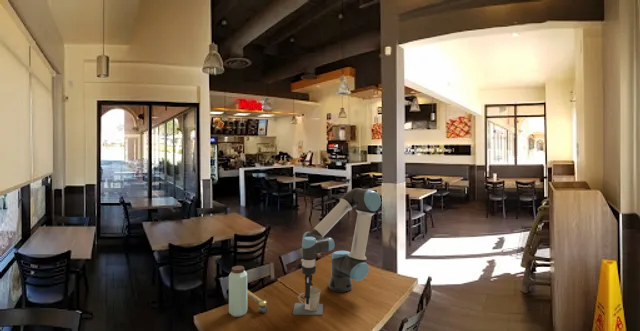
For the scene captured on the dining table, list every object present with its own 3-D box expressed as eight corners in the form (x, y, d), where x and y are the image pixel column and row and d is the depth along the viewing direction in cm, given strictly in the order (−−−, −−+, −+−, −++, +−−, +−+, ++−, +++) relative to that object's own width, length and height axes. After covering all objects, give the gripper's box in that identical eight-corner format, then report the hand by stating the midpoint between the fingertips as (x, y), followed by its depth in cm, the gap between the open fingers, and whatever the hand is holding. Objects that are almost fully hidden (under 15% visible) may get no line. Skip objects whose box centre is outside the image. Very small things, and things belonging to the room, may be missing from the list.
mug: (318, 313, 188) (318, 295, 187) (296, 310, 190) (296, 292, 189) (321, 305, 196) (321, 288, 195) (299, 303, 198) (300, 286, 198)
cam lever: (245, 290, 209) (245, 285, 208) (268, 306, 189) (268, 301, 189) (239, 292, 206) (239, 287, 206) (261, 309, 186) (261, 303, 186)
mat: (323, 304, 198) (323, 303, 198) (322, 315, 186) (322, 314, 186) (295, 303, 199) (295, 302, 199) (292, 314, 187) (292, 313, 187)
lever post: (267, 309, 192) (267, 304, 191) (266, 313, 187) (266, 308, 187) (259, 309, 192) (259, 304, 192) (258, 313, 187) (258, 308, 187)
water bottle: (231, 319, 181) (230, 272, 179) (226, 310, 190) (226, 266, 188) (250, 315, 186) (249, 269, 184) (244, 306, 195) (244, 263, 193)
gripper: (303, 257, 203) (303, 292, 205) (299, 274, 178) (299, 314, 180) (316, 257, 203) (316, 293, 205) (314, 274, 178) (313, 314, 180)
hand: (308, 303), depth 192 cm, fingers open, 13 cm apart
